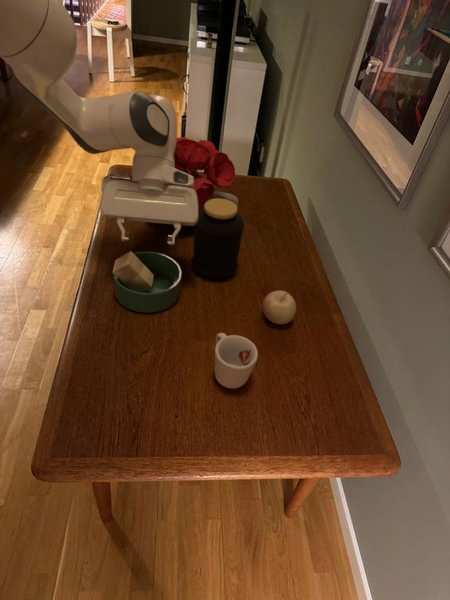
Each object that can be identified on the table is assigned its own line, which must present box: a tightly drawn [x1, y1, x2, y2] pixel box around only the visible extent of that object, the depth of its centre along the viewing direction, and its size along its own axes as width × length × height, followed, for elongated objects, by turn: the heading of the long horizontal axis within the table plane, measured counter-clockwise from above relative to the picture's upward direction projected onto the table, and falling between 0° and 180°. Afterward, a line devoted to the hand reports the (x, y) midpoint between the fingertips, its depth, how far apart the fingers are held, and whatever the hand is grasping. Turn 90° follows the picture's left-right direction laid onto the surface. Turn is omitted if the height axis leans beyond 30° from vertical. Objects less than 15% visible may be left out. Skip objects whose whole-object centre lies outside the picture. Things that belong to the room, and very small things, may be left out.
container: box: [191, 198, 245, 279], centre depth 97 cm, size 12×12×18 cm
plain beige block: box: [111, 250, 154, 293], centre depth 90 cm, size 4×4×8 cm
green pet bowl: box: [112, 251, 183, 314], centre depth 91 cm, size 15×15×6 cm
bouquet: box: [170, 136, 239, 228], centre depth 113 cm, size 22×24×30 cm
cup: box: [214, 332, 259, 389], centre depth 77 cm, size 11×8×8 cm
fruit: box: [261, 289, 297, 325], centre depth 90 cm, size 8×7×8 cm
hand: (148, 242), depth 84 cm, fingers open, 8 cm apart
